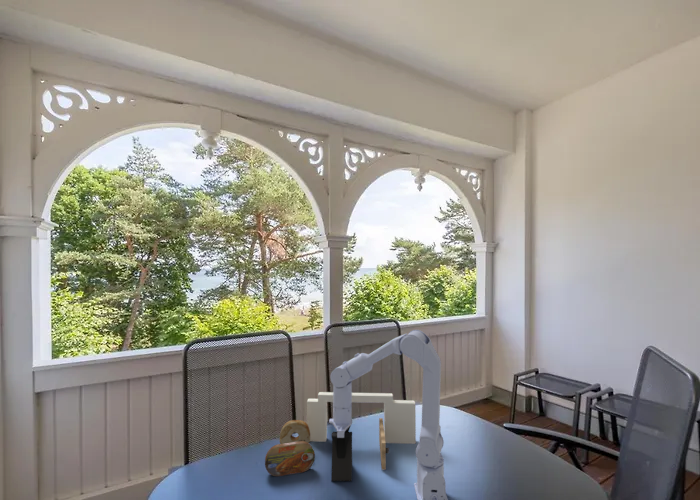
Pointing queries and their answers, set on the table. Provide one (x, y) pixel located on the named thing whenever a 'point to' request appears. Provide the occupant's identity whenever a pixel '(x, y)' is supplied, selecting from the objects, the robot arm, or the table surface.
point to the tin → (289, 458)
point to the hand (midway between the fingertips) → (342, 451)
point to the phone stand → (342, 463)
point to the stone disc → (295, 427)
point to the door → (382, 444)
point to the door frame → (395, 411)
